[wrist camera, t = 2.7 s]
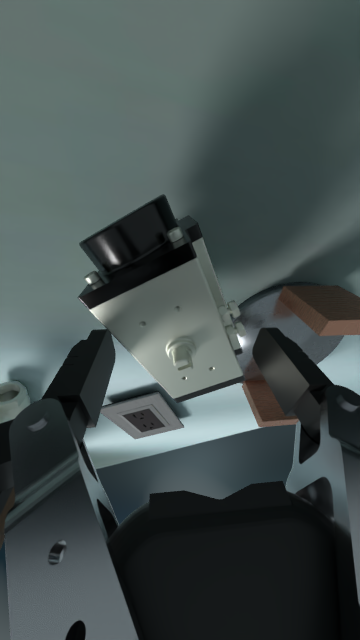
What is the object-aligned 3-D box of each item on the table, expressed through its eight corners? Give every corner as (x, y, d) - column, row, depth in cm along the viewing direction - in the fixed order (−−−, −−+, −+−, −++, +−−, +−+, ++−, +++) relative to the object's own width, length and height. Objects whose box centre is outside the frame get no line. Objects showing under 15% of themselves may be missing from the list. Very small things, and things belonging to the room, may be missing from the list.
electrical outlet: (182, 416, 36) (184, 429, 34) (136, 428, 37) (134, 440, 36) (158, 381, 29) (158, 395, 27) (101, 397, 30) (97, 412, 28)
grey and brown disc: (226, 280, 19) (258, 322, 12) (370, 279, 20) (460, 317, 14) (206, 380, 29) (218, 430, 23) (302, 375, 30) (338, 420, 24)
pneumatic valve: (175, 321, 21) (187, 429, 11) (114, 220, 15) (22, 277, 5) (218, 302, 20) (271, 404, 10) (174, 186, 14) (208, 170, 4)
